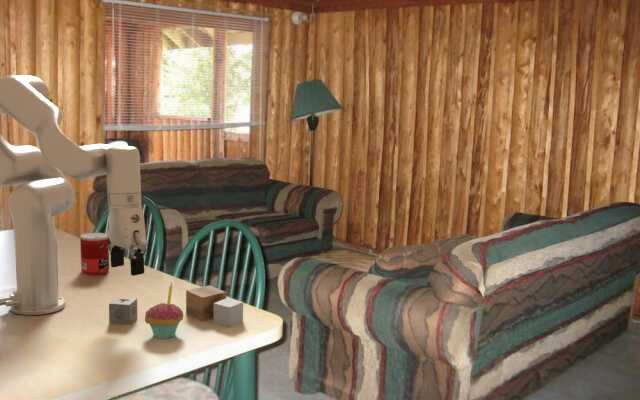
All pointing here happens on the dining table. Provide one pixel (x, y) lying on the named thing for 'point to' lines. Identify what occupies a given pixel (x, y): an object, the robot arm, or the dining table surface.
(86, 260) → the canned food
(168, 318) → the cupcake
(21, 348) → the dining table surface
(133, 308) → the dice cube
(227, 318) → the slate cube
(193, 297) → the walnut block
